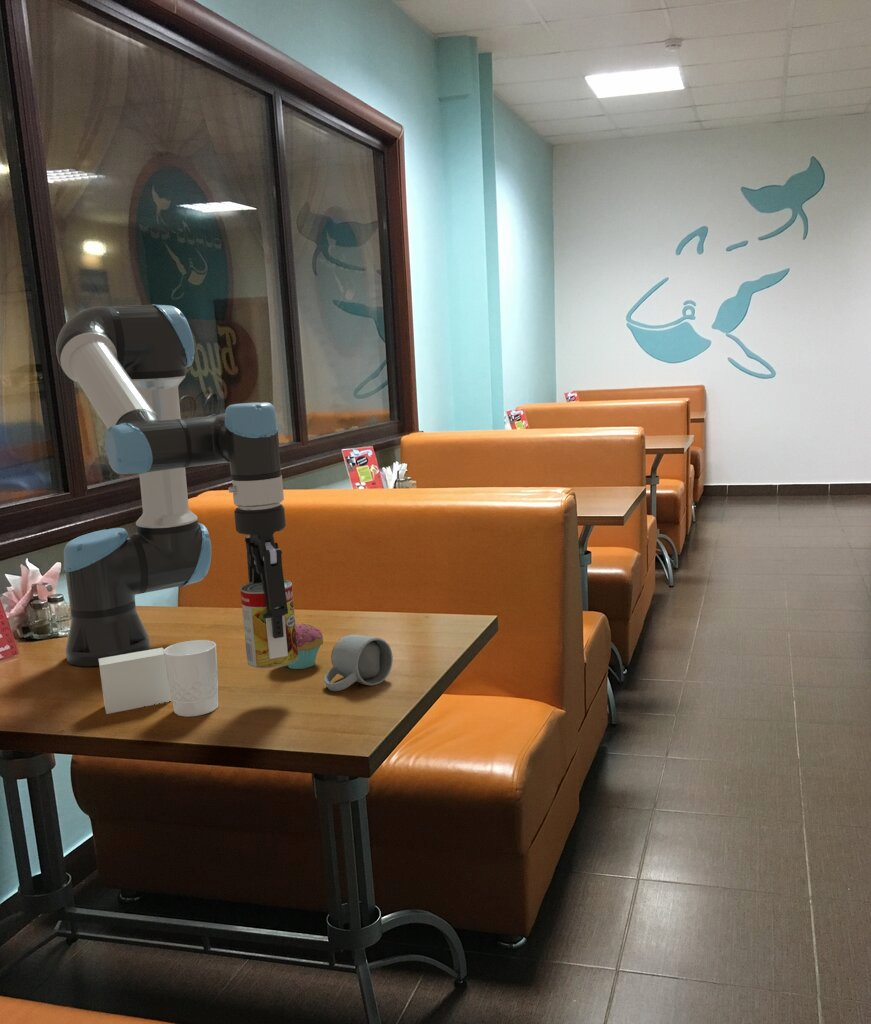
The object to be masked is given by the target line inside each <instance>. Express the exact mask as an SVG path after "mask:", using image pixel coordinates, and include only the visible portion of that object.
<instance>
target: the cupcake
mask: <svg viewBox="0 0 871 1024" xmlns="http://www.w3.org/2000/svg"><path fill="white" fill-rule="evenodd" d="M295 625H296V637H297V649H298V659H297V660H296V661H295V662H293V663H291V664H289V665H286V666H287V667H288V668H289V669H292V670H302V669H303V670H304V669H307V668H311V667H313V666H314V665H315V664H316V659H317V656H318V652H319V650H320V648H321V646H322V645H323V644H324V636H323V632H322V631H321V629H319V628H316V627H314V626H313V625H310V624H304V623H299V624H298V623H297V624H295Z"/></svg>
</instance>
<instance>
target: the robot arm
mask: <svg viewBox="0 0 871 1024" xmlns="http://www.w3.org/2000/svg"><path fill="white" fill-rule="evenodd" d="M65 322H66V323H65V324H64V325H63V326H62V328H61V329H60V331H59V333H58V336H57V339H56V342H55V343H56V345H55V355H56V358H57V362H58V364H59V365H60V368H61V369H62V371H63V373H64V374H65V375H66V376H67V378H68V379H70V380H72V381H73V382H75V383H78V385H79V386H80V389H82V391H83V393H84V394H85V397H87V399H88V400H89V403H91V405H92V407H93V409H94V411H95V412H96V413H97V414H98V416H99V418H100V419H101V421H102V423H103V424H104V425H105V427H106V429H107V430H106V433H105V436H104V439H105V440H104V445H105V455H106V458H107V459H108V464H109V466H110V469H111V470H112V471H113V472H115V473H116V474H118V475H132V474H134V475H135V474H137V475H139V484H140V495H141V504H142V505H141V506H142V514H141V516H139V518H138V519H137V520H136V521H135V528H136V529H135V530H136V532H134V533H130V534H129V532H128V531H127V530H126V529H125V528H123V527H112V528H108V529H101V530H97V531H93V532H89V533H86V534H83V535H80V536H77V537H76V538H73V539H71V540H70V541H68V542H67V543H66V545H65V546H64V548H63V571H64V572H65V579H66V580H65V581H66V586H67V594H68V601H69V610H70V617H71V618H70V619H71V621H70V627H69V633H68V636H67V642H66V645H65V646H66V647H65V655H66V661H67V663H68V664H69V665H72V666H78V667H98V666H99V660H98V659H100V658H105V657H111V656H117V655H123V654H128V653H134V652H140V651H145V650H151V642H150V637H149V633H148V631H147V630H146V627H145V625H144V623H143V621H142V619H141V617H140V615H139V613H138V611H137V605H136V598H135V597H136V596H137V595H141V594H146V593H152V592H156V591H157V592H158V591H163V590H167V589H172V588H178V587H179V588H183V587H186V586H187V585H192V584H195V583H199V582H201V581H202V580H204V578H205V577H206V576H207V574H208V573H209V570H210V566H211V562H212V561H211V560H212V543H211V542H212V541H211V539H210V533H209V531H208V528H207V527H206V526H205V525H204V524H203V523H200V522H199V520H198V519H199V518H198V515H196V514H195V513H194V512H193V511H191V510H190V509H189V506H190V505H189V499H188V496H189V495H188V486H187V476H186V475H187V474H186V473H187V472H186V468H192V467H201V466H209V465H217V464H226V463H229V469H230V470H229V471H230V479H231V484H232V485H231V486H229V487H228V489H227V490H228V493H232V500H233V504H234V505H235V506H236V508H235V510H234V522H235V531H236V532H237V533H238V534H240V535H247V536H245V538H244V543H245V548H246V559H247V575H248V579H247V580H248V583H251V582H254V583H259V582H262V586H263V592H264V596H265V603H266V609H267V614H264V615H263V618H264V619H265V618H266V627H267V638H268V649H269V658H270V659H274V658H279V657H285V656H288V651H287V639H286V628H285V616H284V615H285V614H288V608H287V601H286V593H285V585H284V580H285V579H284V571H283V560H282V559H283V557H282V554H283V551H282V550H281V548H279V543H278V542H275V537H274V534H275V533H277V532H280V531H283V530H284V529H285V528H286V523H287V522H286V511H285V510H286V509H285V506H284V505H283V504H281V503H282V502H283V501H284V500H285V497H284V496H285V495H284V485H283V475H282V470H281V469H282V468H281V457H280V442H279V439H280V438H279V429H280V428H279V423H278V420H277V415H276V408H275V406H274V405H273V404H272V403H270V402H268V401H267V402H246V403H245V402H243V403H234V404H230V405H228V406H227V407H226V408H225V411H224V412H225V413H224V412H222V413H213V414H210V415H207V416H197V417H187V418H182V417H181V408H180V396H179V395H180V394H179V386H180V384H181V383H182V382H183V380H184V379H185V378H186V370H185V369H186V368H189V367H190V366H192V364H193V363H194V360H195V356H194V355H195V342H194V336H193V333H192V330H191V327H190V325H189V322H188V320H187V318H186V316H185V315H184V313H183V312H182V311H181V310H180V309H179V308H177V307H176V306H173V305H167V304H154V303H152V304H143V305H142V304H140V305H136V304H135V305H112V306H107V305H106V306H103V305H102V306H98V305H97V306H92V307H88V308H85V309H83V310H81V311H78V312H77V313H75V314H74V315H72V316H71V317H70V318H69V319H68V320H67V321H65ZM275 607H276V608H275Z"/></svg>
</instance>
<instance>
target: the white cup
mask: <svg viewBox="0 0 871 1024" xmlns="http://www.w3.org/2000/svg"><path fill="white" fill-rule="evenodd" d="M163 649H164V651H163V653H164V658H165V665H166V671H167V677H168V682H169V688H170V693H171V700H172V705H173V712H174V714H175V715H177V716H180V717H186V718H188V717H198V716H203V715H206V714H209V713H211V712H213V711H215V710H216V709H218V707H219V692H218V690H219V685H218V684H219V677H218V676H219V675H218V674H219V673H218V657H217V644H216V642H214V641H212V640H208V639H197V640H196V639H195V640H194V639H193V640H186V641H182V642H177V643H174V644H171V645H168V646H167V647H165V648H163Z"/></svg>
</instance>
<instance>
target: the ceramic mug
mask: <svg viewBox="0 0 871 1024" xmlns="http://www.w3.org/2000/svg"><path fill="white" fill-rule="evenodd" d="M330 658H331V659H330V660H331V664H332V667H331V668H330V669H329V670H328V671H327V672H326V674H325V675H324V679H323V681H324V684H325V686H326V688H327V689H328V690H329V691H332V692H339V691H343V690H345V689H347V688H349V687H350V686H352V685H354V684H355V682H358V683H360V684H362V685H366V686H368V687H369V686H377V685H380V684H382V682H384V681H385V680H386V679H387V677H388V676H389V675H390V673H391V671H392V666H393V662H394V661H393V652H392V648H391V645H390V644H389V643H388V642H387V641H386V640H385V639H383V638H381V637H375V636H369V635H367V636H366V635H361V634H350V635H349V634H348V635H344V636H343V637H341V638H339V639H338V640H337V641H336V643H335V644H334V646H333V647H332V650H331V655H330ZM337 675H339V676H341V677H342V678H343V679H341V680H339V681H337V682H332V681H333V678H335V677H336V676H337Z"/></svg>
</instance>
